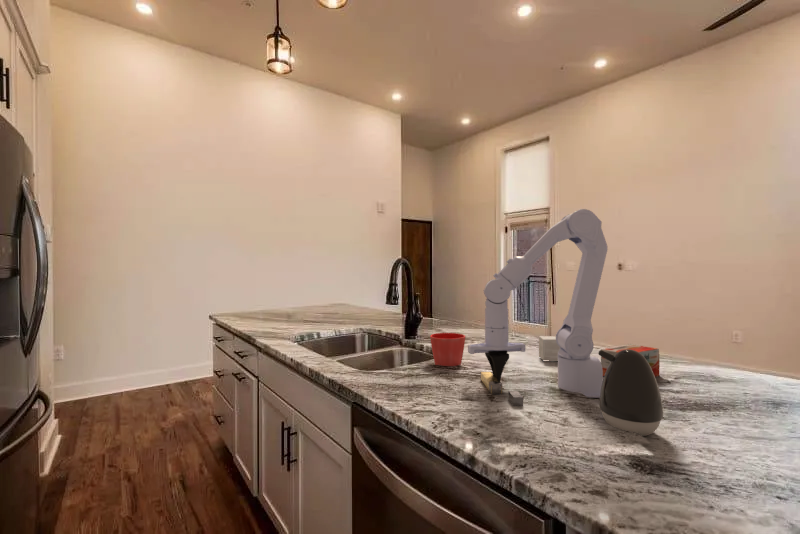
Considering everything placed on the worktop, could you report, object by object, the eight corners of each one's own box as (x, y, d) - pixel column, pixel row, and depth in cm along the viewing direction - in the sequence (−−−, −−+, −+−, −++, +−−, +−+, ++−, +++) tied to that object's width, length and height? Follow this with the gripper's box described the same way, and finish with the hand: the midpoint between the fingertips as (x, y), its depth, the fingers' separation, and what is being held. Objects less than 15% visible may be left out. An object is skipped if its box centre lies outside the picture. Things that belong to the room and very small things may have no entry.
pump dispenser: (604, 415, 78) (604, 341, 78) (665, 428, 71) (665, 348, 71) (592, 431, 70) (592, 350, 70) (660, 449, 63) (659, 359, 63)
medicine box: (630, 369, 113) (630, 343, 113) (660, 376, 106) (660, 348, 106) (599, 376, 106) (599, 348, 106) (629, 384, 98) (629, 354, 99)
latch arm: (503, 394, 86) (503, 385, 86) (490, 394, 87) (490, 385, 87) (491, 379, 98) (491, 371, 98) (480, 379, 98) (480, 371, 98)
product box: (557, 357, 127) (557, 336, 127) (562, 362, 121) (562, 339, 121) (538, 357, 128) (538, 335, 128) (542, 361, 122) (542, 339, 122)
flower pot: (424, 364, 119) (424, 333, 119) (456, 361, 123) (456, 331, 123) (438, 373, 109) (438, 339, 109) (471, 369, 112) (471, 337, 112)
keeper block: (517, 400, 83) (517, 390, 83) (523, 406, 79) (523, 397, 79) (508, 400, 83) (508, 390, 83) (513, 406, 79) (513, 397, 79)
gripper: (516, 323, 100) (516, 375, 100) (463, 325, 97) (463, 377, 97) (529, 328, 93) (529, 383, 93) (473, 329, 90) (473, 386, 90)
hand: (496, 381), depth 95 cm, fingers closed, pressing on latch arm
